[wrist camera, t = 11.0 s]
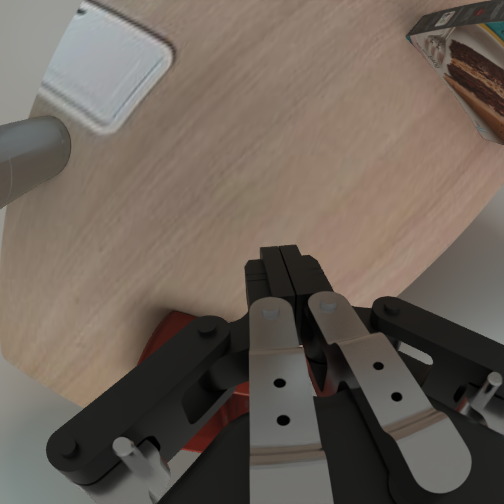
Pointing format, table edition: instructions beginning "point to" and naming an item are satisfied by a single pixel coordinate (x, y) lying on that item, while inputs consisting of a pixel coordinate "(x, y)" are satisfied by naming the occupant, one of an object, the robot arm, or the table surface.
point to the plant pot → (227, 412)
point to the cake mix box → (469, 59)
